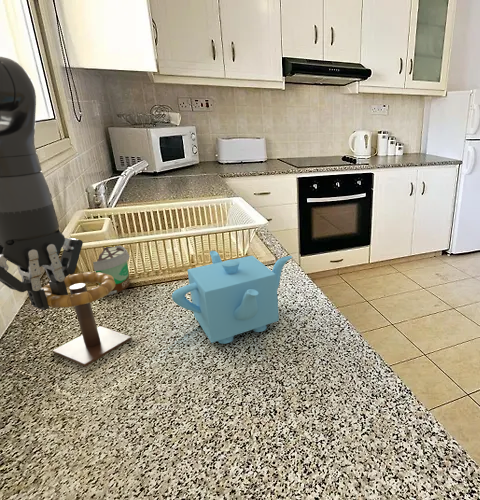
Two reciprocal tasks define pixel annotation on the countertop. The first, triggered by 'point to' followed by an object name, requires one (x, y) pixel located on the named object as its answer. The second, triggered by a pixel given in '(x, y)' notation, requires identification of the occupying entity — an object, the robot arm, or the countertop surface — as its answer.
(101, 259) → the food container
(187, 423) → the countertop surface
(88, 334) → the peg stand
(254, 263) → the teakettle
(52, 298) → the ring
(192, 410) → the countertop surface
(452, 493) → the countertop surface
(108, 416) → the countertop surface
